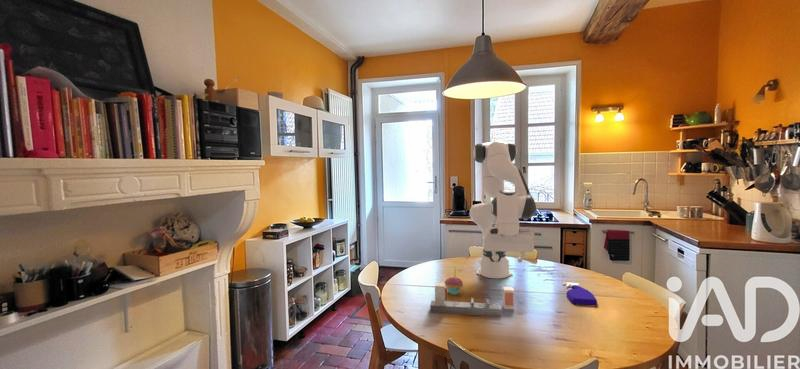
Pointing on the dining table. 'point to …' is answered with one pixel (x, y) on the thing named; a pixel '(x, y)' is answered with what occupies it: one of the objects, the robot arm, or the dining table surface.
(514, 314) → the dining table surface
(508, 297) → the finger block
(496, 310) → the rail
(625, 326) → the dining table surface
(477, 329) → the dining table surface
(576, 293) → the purple flat bottle
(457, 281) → the cupcake
